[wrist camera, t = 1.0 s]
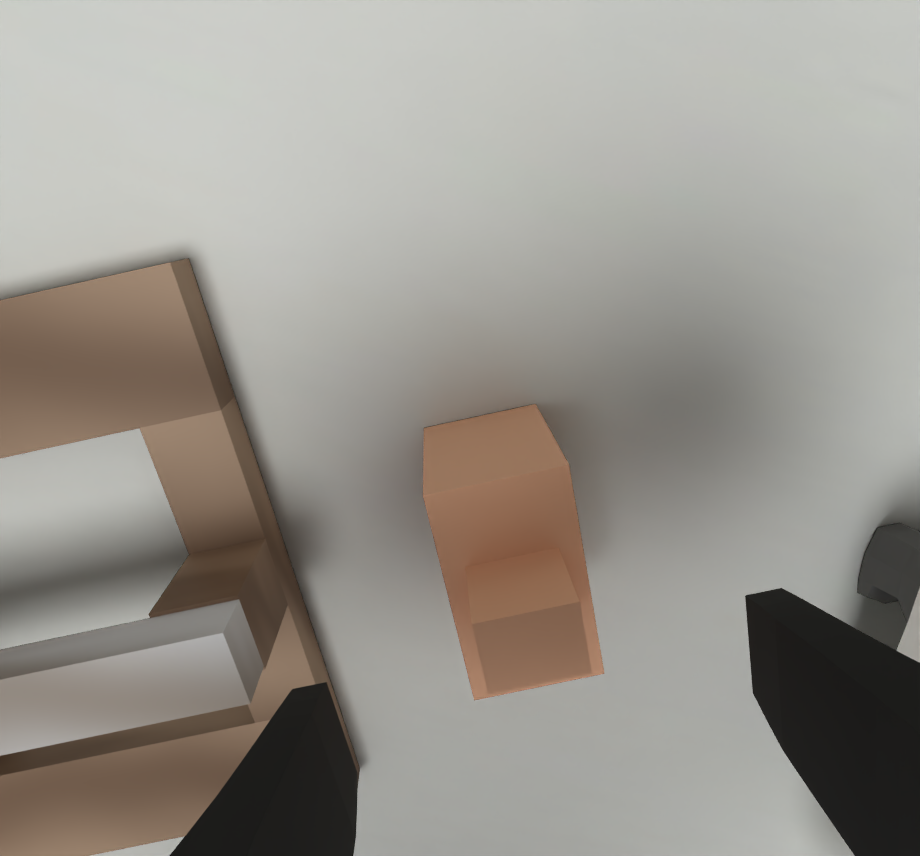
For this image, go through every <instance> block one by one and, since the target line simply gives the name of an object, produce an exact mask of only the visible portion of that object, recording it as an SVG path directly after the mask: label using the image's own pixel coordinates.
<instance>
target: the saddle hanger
mask: <svg viewBox="0 0 920 856" xmlns="http://www.w3.org/2000/svg"><path fill="white" fill-rule="evenodd" d="M423 498H424V502H425V506H426V510H427V514H428V518H429V522H430V526H431V530H432V534H433V538H434V542H435V546H436V550H437V554H438V558H439V562H440V566H441V570H442V574H443V578H444V581H445V585H446V589H447V593H448V597H449V601H450V605H451V609H452V613H453V617H454V621H455V625H456V629H457V633H458V637H459V641H460V645H461V649H462V653H463V657H464V661H465V665H466V669H467V673H468V677H469V681H470V685H471V689H472V693H473V697H474V700H478V699H483V698H488V697H493V696H498V695H503V694H508V693H512V692H517V691H522V690H527V689H532V688H537V687H542V686H546V685H551V684H556V683H561V682H566V681H571V680H576V679H580V678H585V677H590V676H595V675H600V674H604V669H603V663H602V657H601V651H600V645H599V639H598V633H597V627H596V621H595V615H594V609H593V604H592V598H591V592H590V586H589V580H588V574H587V568H586V562H585V556H584V550H583V544H582V538H581V533H580V527H579V521H578V515H577V509H576V503H575V497H574V491H573V485H572V479H571V473H570V467H569V464H568V462H567V460H566V458H565V456H564V455H563V453H562V451H561V449H560V447H559V446H558V444H557V442H556V440H555V438H554V436H553V435H552V433H551V431H550V429H549V427H548V426H547V424H546V422H545V420H544V418H543V416H542V415H541V413H540V411H539V409H538V407H537V406H536V404H533V405H528V406H524V407H519V408H514V409H510V410H505V411H500V412H496V413H491V414H486V415H482V416H477V417H473V418H468V419H463V420H459V421H454V422H449V423H445V424H440V425H435V426H431V427H426V428H424V455H423Z"/></svg>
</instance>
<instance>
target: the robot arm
mask: <svg viewBox="0 0 920 856" xmlns="http://www.w3.org/2000/svg"><path fill="white" fill-rule="evenodd" d="M745 597H746V610H747V623H748V636H749V648H750V661H751V674H752V687H753V694H754V696H755V698H756V700H757V702H758V704H759V706H760V708H761V710H762V712H763V714H764V716H765V718H766V719H767V721H768V723H769V725H770V727H771V729H772V731H773V733H774V735H775V736H776V738H777V740H778V742H779V744H780V746H781V747H782V749H783V751H784V753H785V754H786V756H787V757H788V759H789V760H790V762H791V763H792V765H793V766H794V768H795V769H796V771H797V772H798V773H799V775H800V776H801V778H802V779H803V781H804V782H805V784H806V785H807V787H808V788H809V790H810V791H811V793H812V794H813V796H814V797H815V798H816V800H817V801H818V803H819V804H820V806H821V807H822V809H823V810H824V812H825V813H826V814H827V816H828V817H829V819H830V820H831V822H832V823H833V825H834V826H835V828H836V829H837V830H838V832H839V833H840V835H841V836H842V838H843V839H844V841H845V842H846V844H847V845H848V846H849V848H850V849H851V851H852V852H853V854H854V855H855V856H920V663H919V662H917V661H915V660H914V659H912V658H910V657H908V656H906V655H904V654H902V653H900V652H898V651H896V650H894V649H892V648H890V647H889V646H887V645H885V644H883V643H881V642H879V641H877V640H875V639H873V638H872V637H870V636H868V635H866V634H864V633H862V632H861V631H859V630H857V629H855V628H853V627H852V626H850V625H848V624H846V623H844V622H842V621H841V620H839V619H837V618H835V617H833V616H832V615H830V614H828V613H826V612H825V611H823V610H821V609H819V608H817V607H816V606H814V605H812V604H810V603H808V602H807V601H805V600H803V599H801V598H799V597H797V596H796V595H794V594H792V593H790V592H788V591H786V590H784V589H782V588H780V589H775V590H770V591H765V592H760V593H756V594H751V595H746V596H745ZM357 780H358V773H357V770H356V767H355V764H354V761H353V758H352V755H351V752H350V749H349V746H348V743H347V741H346V738H345V735H344V732H343V729H342V726H341V723H340V720H339V717H338V714H337V711H336V708H335V705H334V702H333V699H332V696H331V693H330V690H329V688H328V685H327V682H324V683H319V684H314V685H309V686H305V687H300V688H295V689H292V690H291V691H290V693H289V694H288V695H287V697H286V698H285V700H284V701H283V702H282V704H281V705H280V707H279V708H278V709H277V711H276V712H275V714H274V715H273V717H272V718H271V720H270V721H269V722H268V724H267V725H266V727H265V728H264V730H263V731H262V733H261V734H260V735H259V737H258V738H257V740H256V741H255V743H254V744H253V746H252V747H251V748H250V750H249V751H248V753H247V754H246V756H245V757H244V759H243V760H242V761H241V763H240V764H239V765H238V767H237V768H236V770H235V771H234V772H233V774H232V775H231V777H230V778H229V779H228V781H227V782H226V784H225V785H224V786H223V788H222V789H221V790H220V792H219V793H218V795H217V796H216V797H215V799H214V800H213V801H212V802H211V804H210V805H209V806H208V808H207V809H206V810H205V811H204V813H203V814H202V815H201V817H200V818H199V819H198V820H197V822H196V823H195V824H194V825H193V827H192V828H191V829H190V831H189V832H188V833H187V834H186V836H185V837H184V838H183V840H182V841H181V842H180V843H179V845H178V846H177V847H176V849H175V850H174V851H173V852H172V853H171V855H170V856H353V853H354V846H355V838H356V818H357Z"/></svg>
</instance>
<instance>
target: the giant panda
mask: <svg viewBox="0 0 920 856" xmlns="http://www.w3.org/2000/svg"><path fill="white" fill-rule="evenodd" d="M858 593H860V594H862V595H864V596H866V597H869V598H871V599H874V600H877V601H880V602H882V603H890V602H895V601H899V603H900V606H901V608H902V611H903V614H904V616H905V619H906V622H907V625H906V628H905V630H904V633H903V635H902V638H901V640H900V643H899V645H898V648H897V650H896V651H898V652H900V653H902V654H904V655H906V656H908V657H910V658H912V659H914V660H915V661H917V662H919V663H920V531H918V530H915V529H913V528H911V527H908V526H906V525H904V524H901V523H897V524H893V525H888V526H884V527H879V528H877V530H876V532H875V534H874V536H873V538H872V540H871V542H870V544H869V546H868V548H867V550H866V552H865V555H864V559H863V563H862V567H861V571H860V575H859V582H858Z"/></svg>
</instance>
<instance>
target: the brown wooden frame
mask: <svg viewBox="0 0 920 856" xmlns="http://www.w3.org/2000/svg"><path fill="white" fill-rule="evenodd" d="M137 428H140V430H141V433H142V435H143V438H144V440H145V443H146V445H147V448H148V451H149V453H150V456H151V458H152V461H153V463H154V466H155V468H156V471H157V474H158V476H159V479H160V481H161V484H162V486H163V489H164V492H165V494H166V497H167V499H168V502H169V504H170V507H171V509H172V512H173V515H174V517H175V520H176V522H177V525H178V527H179V530H180V532H181V535H182V538H183V540H184V543H185V545H186V548H187V550H188V553H189V556H188V557H187V559H186V560H185V562H184V563H183V565H182V566H181V567H180V569H179V570H178V572H177V573H176V575H175V576H174V578H173V579H172V581H171V582H170V584H169V585H168V587H167V588H166V589H165V591H164V592H163V594H162V595H161V597H160V598H159V600H158V601H157V603H156V604H155V606H154V607H153V609H152V610H151V611H150V613H149V616H150V618H148V619H143V620H139V621H134V622H129V623H124V624H120V625H115V626H110V627H105V628H101V629H96V630H91V631H86V632H82V633H77V634H72V635H67V636H63V637H58V638H53V639H49V640H44V641H39V642H34V643H30V644H25V645H20V646H15V647H11V648H6V649H1V650H0V856H89V855H94V854H99V853H104V852H109V851H114V850H119V849H124V848H129V847H134V846H139V845H143V844H148V843H153V842H158V841H163V840H168V839H173V838H178V837H183V836H186V834H187V833H188V832H189V831H190V829H191V828H192V827H193V825H194V824H195V823H196V822H197V820H198V819H199V818H200V817H201V815H202V814H203V813H204V811H205V810H206V809H207V808H208V806H209V805H210V804H211V802H212V801H213V800H214V799H215V797H216V796H217V795H218V793H219V792H220V790H221V789H222V788H223V786H224V785H225V784H226V782H227V781H228V779H229V778H230V777H231V775H232V774H233V772H234V771H235V770H236V768H237V767H238V765H239V764H240V763H241V761H242V760H243V759H244V757H245V756H246V754H247V753H248V751H249V750H250V748H251V747H252V746H253V744H254V743H255V741H256V740H257V738H258V737H259V735H260V734H261V733H262V731H263V730H264V728H265V727H266V725H267V724H268V722H269V721H270V720H271V718H272V717H273V715H274V714H275V712H276V711H277V709H278V708H279V707H280V705H281V704H282V702H283V701H284V700H285V698H286V697H287V695H288V694H289V693H290V691H291V690H292V689H295V688H300V687H305V686H309V685H314V684H319V683H324V682H327V685H328V688H329V690H330V693H331V696H332V699H333V702H334V705H335V708H336V711H337V714H338V717H339V720H340V723H341V726H342V729H343V732H344V735H345V738H346V741H347V743H348V746H349V749H350V752H351V755H352V758H353V761H354V764H355V767H356V770H357V773H358V779H359V771H360V768H359V765H358V762H357V759H356V756H355V753H354V750H353V747H352V744H351V741H350V738H349V735H348V732H347V729H346V726H345V723H344V720H343V717H342V714H341V712H340V709H339V706H338V703H337V700H336V697H335V694H334V691H333V688H332V685H331V682H330V679H329V676H328V673H327V670H326V667H325V664H324V661H323V658H322V655H321V652H320V649H319V646H318V643H317V640H316V637H315V634H314V631H313V628H312V625H311V622H310V619H309V616H308V613H307V610H306V607H305V604H304V601H303V598H302V595H301V592H300V589H299V586H298V583H297V580H296V577H295V574H294V571H293V568H292V565H291V562H290V559H289V556H288V553H287V550H286V547H285V545H284V542H283V539H282V536H281V533H280V530H279V527H278V524H277V521H276V518H275V515H274V512H273V509H272V506H271V503H270V500H269V497H268V494H267V491H266V488H265V485H264V482H263V479H262V476H261V473H260V470H259V467H258V464H257V461H256V458H255V455H254V452H253V449H252V446H251V443H250V440H249V437H248V434H247V431H246V428H245V425H244V422H243V419H242V416H241V413H240V410H239V407H238V404H237V401H236V398H235V395H234V392H233V389H232V386H231V383H230V381H229V378H228V375H227V372H226V369H225V366H224V363H223V360H222V357H221V354H220V351H219V348H218V345H217V342H216V339H215V336H214V333H213V330H212V327H211V324H210V321H209V318H208V315H207V312H206V309H205V306H204V303H203V300H202V297H201V294H200V291H199V288H198V285H197V282H196V279H195V276H194V273H193V270H192V267H191V264H190V261H189V258H188V259H183V260H179V261H174V262H169V263H165V264H161V265H156V266H152V267H147V268H143V269H138V270H134V271H129V272H125V273H120V274H116V275H111V276H107V277H102V278H98V279H93V280H89V281H84V282H80V283H75V284H71V285H66V286H62V287H57V288H53V289H48V290H44V291H39V292H35V293H30V294H26V295H21V296H17V297H12V298H8V299H3V300H0V458H4V457H9V456H13V455H18V454H22V453H27V452H32V451H36V450H41V449H45V448H50V447H55V446H59V445H64V444H68V443H73V442H78V441H82V440H87V439H91V438H96V437H101V436H105V435H110V434H114V433H119V432H124V431H128V430H133V429H137ZM357 788H358V780H357Z"/></svg>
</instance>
